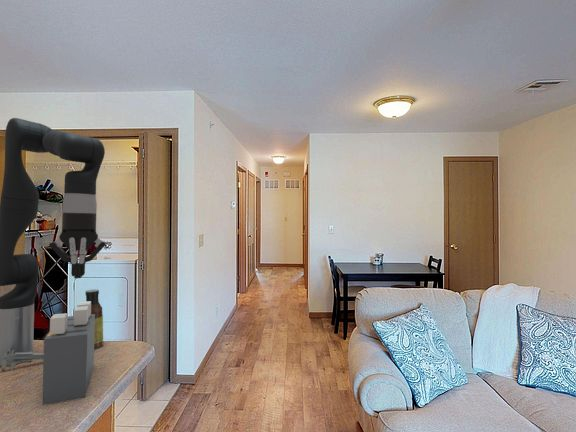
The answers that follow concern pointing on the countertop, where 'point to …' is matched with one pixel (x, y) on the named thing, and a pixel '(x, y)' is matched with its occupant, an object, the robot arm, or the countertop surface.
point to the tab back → (86, 303)
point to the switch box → (68, 362)
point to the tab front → (58, 324)
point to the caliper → (19, 358)
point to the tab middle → (81, 315)
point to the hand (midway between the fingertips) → (77, 277)
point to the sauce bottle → (96, 316)
